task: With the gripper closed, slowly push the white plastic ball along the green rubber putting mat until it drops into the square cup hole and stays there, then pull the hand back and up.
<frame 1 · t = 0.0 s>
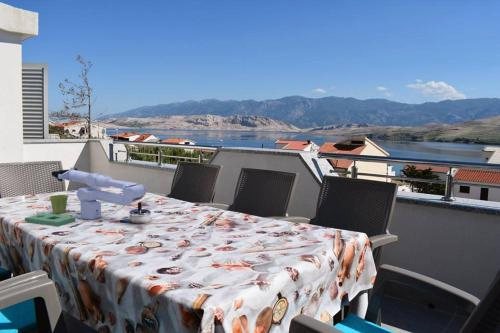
hand: (58, 172, 205), 22 cm above the table, tool horizontal, fingers open, 7 cm apart
plant pot: (59, 212, 210), on the table
ball: (40, 212, 193), point 4 cm above the table, touching putting mat
putting mat: (50, 221, 191), on the table
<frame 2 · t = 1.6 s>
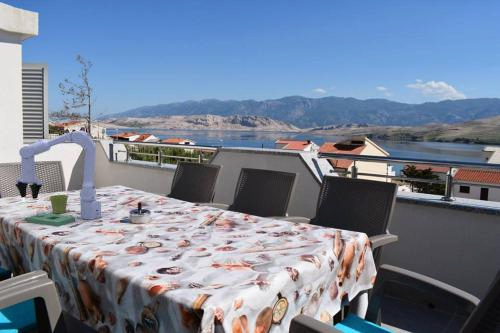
hand: (29, 198, 194), 10 cm above the table, tool pointing down, fingers open, 7 cm apart
nothing on the table moved.
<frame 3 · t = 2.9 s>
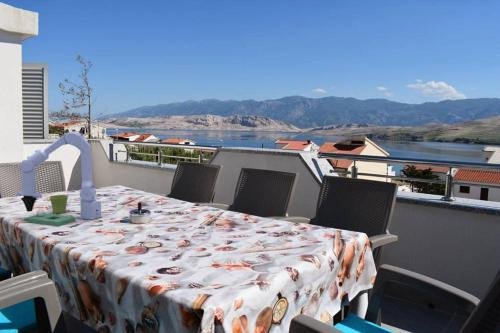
hand: (29, 211, 195), 4 cm above the table, tool pointing down, fingers closed
nothing on the table moved.
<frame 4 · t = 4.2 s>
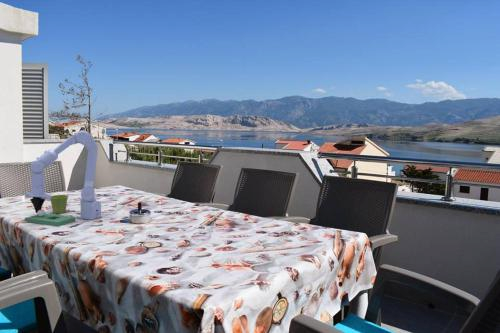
hand: (38, 212, 193), 4 cm above the table, tool pointing down, fingers closed, pressing on ball
ball: (41, 212, 192), point 4 cm above the table, tilted 16°, touching gripper, putting mat
everything else where it was.
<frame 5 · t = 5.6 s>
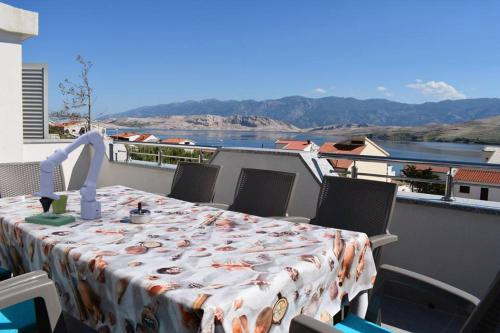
hand: (46, 212, 190), 4 cm above the table, tool pointing down, fingers closed, pressing on ball
ball: (46, 213, 191), point 4 cm above the table, tilted 130°, touching gripper, putting mat
everything else where it was.
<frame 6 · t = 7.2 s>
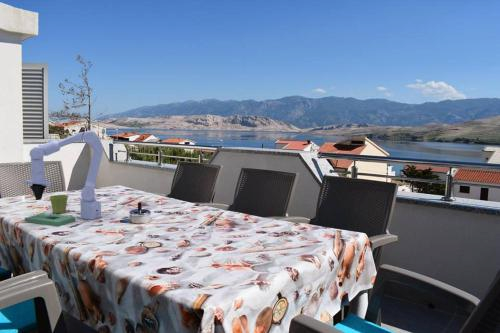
hand: (38, 199, 192), 10 cm above the table, tool pointing down, fingers closed
ball: (48, 213, 191), point 4 cm above the table, tilted 158°, touching putting mat
everything else where it was.
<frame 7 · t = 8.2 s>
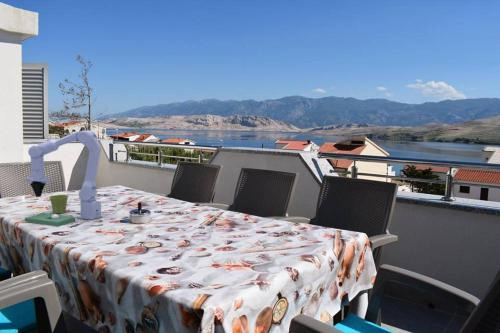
hand: (38, 196, 198), 10 cm above the table, tool pointing down, fingers closed
ball: (55, 217, 191), point 2 cm above the table, tilted 70°, touching putting mat
everything else where it was.
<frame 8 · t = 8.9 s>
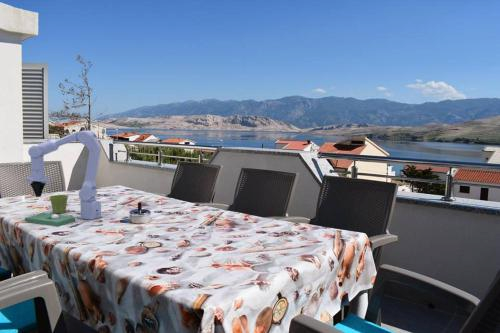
hand: (38, 196, 198), 10 cm above the table, tool pointing down, fingers closed
nothing on the table moved.
at the end: ball 0.8 cm from the target spot on the putting mat, point 1.9 cm above the putting mat's base; the gripper is holding nothing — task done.
